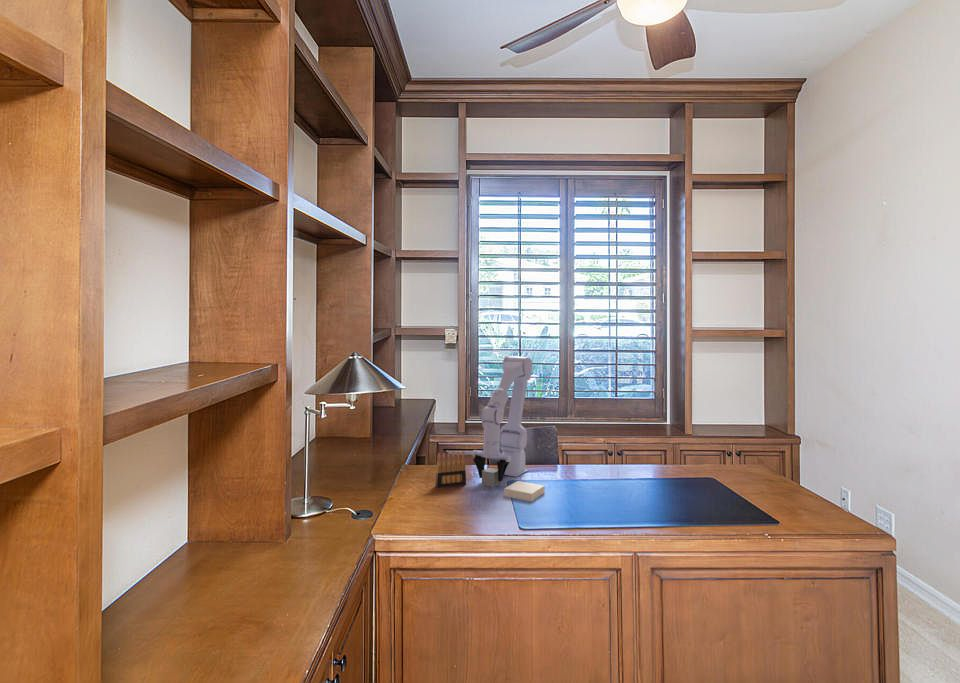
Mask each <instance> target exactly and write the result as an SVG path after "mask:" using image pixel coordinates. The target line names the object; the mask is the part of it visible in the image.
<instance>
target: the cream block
mask: <svg viewBox="0 0 960 683" xmlns="http://www.w3.org/2000/svg"><path fill="white" fill-rule="evenodd" d="M545 487H546V486H545V485H543V484H538V483H532V482H527V481H526V482H525V481H521V480H517V481H515V482H513V483H512V484H510V485H508V486H506V487H504V489H503V496H504V497H506V498H507V497H508V498H512V499H516V500H523V501H527V502H533V501H535V500H536V499H538V498H539V497H541V496H543V495H544V494H545Z"/></svg>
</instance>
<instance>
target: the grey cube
mask: <svg viewBox="0 0 960 683" xmlns="http://www.w3.org/2000/svg"><path fill="white" fill-rule="evenodd" d="M500 484H501V482H499V481H498V468H494V467H486V468H484V470H483V471H482V478H481V485H482V486H487V487H492V488H495V487H496V486H499V485H500Z"/></svg>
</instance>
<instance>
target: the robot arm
mask: <svg viewBox="0 0 960 683" xmlns="http://www.w3.org/2000/svg"><path fill="white" fill-rule="evenodd" d="M502 370H503V373H502V376H501V379H500V382H499V385H498V388H496V389H494V390H493V392H492V394H491V396H490V398H489V401H488V404H487V405H486V406H485V407H483V408H482V409H481V413H480V420H481V422H482V423H481V424H482V425H481V426H482V428H483V448H482V449H483V450H477V449H474V450H472V453H471V456H472V457H474V458H473V462H474V465H475V467H476V469H477V472H478V477H479V478H480V479H482V471H483V470H485V464H486V460H487V459H490V460H494V461H495V460H497V461H496V465H497V467H496V468H497V469H498V481H499V482H500V483H501V482H502V481H503V480H504V476H511V477H514V478H515V477H520V476H522V474H524V473H526V472H528V469H526V452H525V450H524V449H526V447H527V443H528V438H527V437H528V436H527V435H528V434H527V433H528V432H527V430H526V428H525V427H524V426H523V425H522V419H523V412H524V405H525V398H526V392H527V386H528V381H531V377H532V372H533V362H532V359H531V358H530V357H529V356H513V355H506V356H505V357H504V358H503V361H502ZM512 384H513V385H512ZM511 387H512V392H511V398H510V405H509V411H508V419H507V423H505V424H504V425H502V426H501V424H502V422H503V420H504V413H505V406H506V404H507V402H508V399H509V394H508V392H509V389H510V388H511ZM500 450H502V452H500Z"/></svg>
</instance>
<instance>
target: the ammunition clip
mask: <svg viewBox="0 0 960 683" xmlns="http://www.w3.org/2000/svg"><path fill="white" fill-rule="evenodd" d="M436 457H437V459H436V460H437V462H436V472H435V486H434V487H436V488H438V489H441V488H448V487H457V486H466V485H467V475H466V474H467V473H466V472H467V471H466V459H465V457H466V455H465V451H464V450H462V452H461V455H460V451H459V450H458V451H457V452H456V454H455V451H452V453H450V451H448V452H447V456H446V453H445V452H444V451H443V453H442V457H441V453H440V452H438V453H437V456H436Z"/></svg>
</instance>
